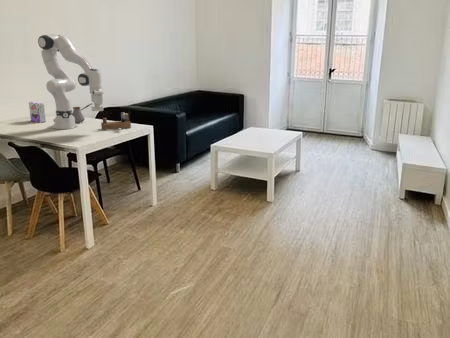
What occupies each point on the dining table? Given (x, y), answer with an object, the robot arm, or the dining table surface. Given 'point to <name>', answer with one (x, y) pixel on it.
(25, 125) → the dining table surface
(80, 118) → the coffee pot
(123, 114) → the lever
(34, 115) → the candy box
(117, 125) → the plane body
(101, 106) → the cap
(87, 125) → the dining table surface
